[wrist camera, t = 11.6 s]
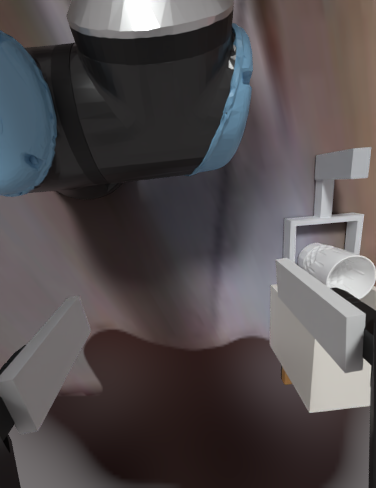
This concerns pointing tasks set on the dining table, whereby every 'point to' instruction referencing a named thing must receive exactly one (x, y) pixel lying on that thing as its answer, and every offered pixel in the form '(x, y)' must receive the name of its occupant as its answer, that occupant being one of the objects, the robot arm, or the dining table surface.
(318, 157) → the square frame with handle
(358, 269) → the white cup
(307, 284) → the robot arm
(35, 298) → the dining table surface
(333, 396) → the tunnel
